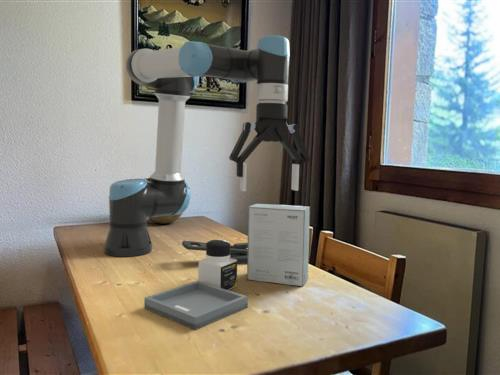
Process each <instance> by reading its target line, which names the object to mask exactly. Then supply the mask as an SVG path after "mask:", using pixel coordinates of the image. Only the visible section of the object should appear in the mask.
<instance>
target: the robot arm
mask: <svg viewBox="0 0 500 375" xmlns="http://www.w3.org/2000/svg"><path fill="white" fill-rule="evenodd" d="M256 46H257V48H255V49H250V50H243V49H239V48H233V47H232V48H231V47H227V46H220V45H216V44H211V43H205V42H203V41H194V40H192V41H191V40H187V41H186V42H184V43H183V45H181V46H178V47H172V48H166V49H158V50H157V49H151V48H139V49H135V50H133V51H132V52H130V54H129V55H128V57H127V58H126V62H125V68H126V69H125V70H126V73H127V74H128V76H129V78H130V79H131V80H132V81H133V82H134V83H136V84H137V85H139V86H141V87H146V88H151V89H154V93H153V94H154V95H155V96H156V98H157V99H158V110H157V128H156V130H157V131H156V148H155V149H156V150H155V164H154V165H155V166H154V167H155V168H154V171H153V173H152V174H150V176H149V177H150V183H147V181H146V180H145V179H144V178H130V179H127V178H126V179H123V180H118V181H115V182H113V183H111V185H110V186H109V195H108V200H109V203H108V204H109V229H108V233H107V236H106V239H105V243H104V245H103V246H104V247H103V250H104V251H103V252H104V254H106V255H108V256H112V257H137V256H144V255H147V254H150V253H151V252H152V251H153V242H152V240H151V236H150V233H149V231H148V228H147V226H148V224H147V218H148V217H159V216H173V215H176V214H181V213H182V214H184V212H185V211H187V209H188V208H189V205H190V202H191V198H192V197H191V196H192V193H191V190H190V189H191V188H190V187H191V186H190V185H189V184H188V182H186V181H185V176H184V175H183V173H182V160H183V142H184V125H185V114H186V113H185V110H186V102H187V101H188V100H189V99H190V98H191V93H192V92H194V91H195V90H196V89H197V86H198V85H199V82H200V77H206V78H207V77H209V78H218V79H224V80H229V81H231V82H233V83H236V84H237V83H241V84H246V83H250V82H255V81H257V82H256V84H257V85H256V102H258V103H256V107H255V111H256V113H255V123H252V122H249V121H247V122H243V123H242V131H241V133H240V134H239V137H238V139H237V141H236V142H235V145H234V147H233V149H232V150H231V153H230V155H229V157H228V159H229V160H230V161H232V162H234V163H236V177H239V190H240V191H241V192H247V172H248V171H247V170H248V169H247V168H248V167H247V166H248V164H247V163H245V162H246V160H247V159H248V158H249V157H250V155H251V154H253V152H254V150H256V148H257V147H258V146H259V145H260V144H261V143H262V142H266V143H267V142H269V143H270V142H271V143H273V142H274V143H275V142H276V143H280V144H281V145H282V146H283V148H284V149H285V150H286V152H287V153H288V154H289V156H290V157H291V159H292V160H293V161H294V163H292V164H291V184H290V185H291V187H290V189H291V190H292V191H297V192H298V191H299V184H300V182H299V180H300V178H301V177H302V176H303V166H304V164H305V163H307V162H310V160H311V158H310V155H309V153H308V149H307V148H306V145H305V143H304V141H303V138H302V135H301V133H300V125H299V123H292V124H289V125H288V122H287V121H288V105H287V102H288V101H289V100H288V99H289V71H290V68H289V67H290V56H291V55H290V41H289V39H288V38H287V37H285V36H284V35H283V36H282V35H277V34H268V35H263V36H261V37H259V38H258V41H257V45H256ZM253 130H255V132H256V135H254V137H253V139H252V140H251V141H250V143H249V144H248V145H247V146H246V148H244V149H243V147H244V146H245V143H246V141H247V140H248V137H249V135H250V133H251V132H252V131H253ZM288 131H289V134H291V137H292V139H293V142H294V144H295V146H296V149H297V150H296V149H295V147H294V146H293V144H292V143H291V142H290V140H289V138H288V137H287V135H286V133H287V132H288ZM242 149H243V151H242ZM241 151H242V152H241ZM148 219H149V218H148Z"/></svg>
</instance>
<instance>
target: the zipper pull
mask: <svg viewBox="0 0 500 375" xmlns="http://www.w3.org/2000/svg"><path fill="white" fill-rule="evenodd" d="M206 243H207V242H200V241H192V240H182V242H181V244H182V247H183V248H185V249H186V250H189V251H202V252H203V251H205V252H206ZM247 250H248V242H238V243H234V244H232V245H231V244H230V258H232V259H236V260H237V265H247Z"/></svg>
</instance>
